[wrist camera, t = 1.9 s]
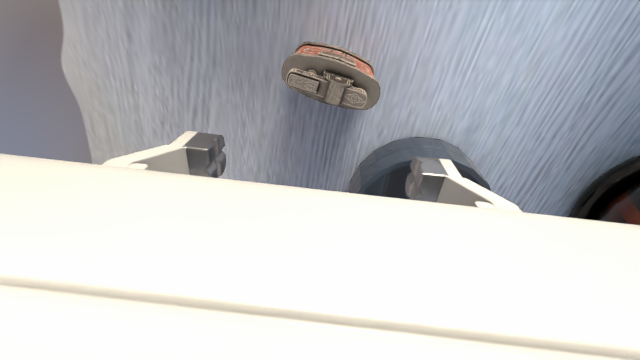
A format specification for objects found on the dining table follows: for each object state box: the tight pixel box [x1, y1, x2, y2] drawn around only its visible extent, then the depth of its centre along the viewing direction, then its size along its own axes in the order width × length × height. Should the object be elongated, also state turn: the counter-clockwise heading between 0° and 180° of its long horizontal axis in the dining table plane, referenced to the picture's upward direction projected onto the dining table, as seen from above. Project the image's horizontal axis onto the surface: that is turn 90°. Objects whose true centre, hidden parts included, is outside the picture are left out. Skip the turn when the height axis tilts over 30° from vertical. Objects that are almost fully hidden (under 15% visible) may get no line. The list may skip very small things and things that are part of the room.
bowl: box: [349, 137, 491, 199], centre depth 35 cm, size 15×15×6 cm
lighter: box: [282, 42, 380, 110], centre depth 26 cm, size 8×3×10 cm, turn 74°
